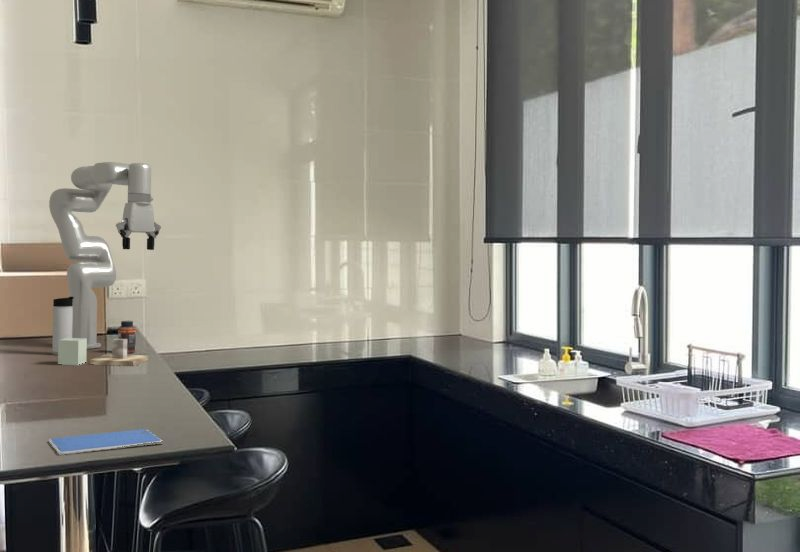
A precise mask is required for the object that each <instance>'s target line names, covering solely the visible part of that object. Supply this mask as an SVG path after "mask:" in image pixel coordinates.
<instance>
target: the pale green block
mask: <svg viewBox="0 0 800 552" xmlns="http://www.w3.org/2000/svg"><path fill="white" fill-rule="evenodd" d="M87 350H88V349H87V339H86V338H65V339H61V340H58V355H57V365H58V364H62V365H61V366H80V365H83V364H86V363H87V354H88V353H87V352H88V351H87ZM85 362H86V363H85ZM82 363H83V364H82ZM79 364H80V365H79Z"/></svg>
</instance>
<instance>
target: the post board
mask: <svg viewBox="0 0 800 552" xmlns="http://www.w3.org/2000/svg"><path fill="white" fill-rule="evenodd" d="M111 346H112V348H111V353H110V354H109V353H105V354H103V355H100V356H98V357H95V358H91V359H89V365H90V364H94V365H93V366H120V367H121V366H123V367H124V366H126V367H135V366H136V365H139V364H142V363H144V362H146V361H149V355H145V354H143V355H142V354H128V353H127V339H118V338H113V339H112V343H111Z"/></svg>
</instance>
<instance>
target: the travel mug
mask: <svg viewBox="0 0 800 552" xmlns="http://www.w3.org/2000/svg"><path fill="white" fill-rule="evenodd" d="M73 299H74V297H69V296H68V297H61V298H60V297H59V298H53V304H52V355H53V356H58V340H61V339H65V338H72V323H73V308H72V307H73V304H72V303H73Z"/></svg>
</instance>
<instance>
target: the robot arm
mask: <svg viewBox="0 0 800 552" xmlns="http://www.w3.org/2000/svg"><path fill="white" fill-rule="evenodd" d="M70 179H71V181H70V182H71V183H72V184H73V185H74V186H75V187H76V188H65V187H64V188H57V189H55V190H54V191H53V192H52V193H51V194H50V197H49V201H48V204H49V206H48V208H49V212H50V216H51V218H52V219H53V221H54V224H55V225H56V227H57V229H58V233H59V237H60V241H61V245H62V248H63V251H64V254H65V257H66V258H67V259H68V260H69V261H72V262H73V261H74V262H73V263H71V264H70V265H69V266H68V267H67V269H66V279H67V285H68V293H69V296H68V298H69V297H74V299H73V303H72V304H73V307H72V308H73V323H72V338H86V339H87V350H88V349H98V348H101V346H102V343H101V342H97V339H98V338H97V336H98V335H97V333H98V326H97V325H98V298H97V296H96V294H95V291H94V290H93V288H106V287H107V288H108V287H111V286H113V285H114V284H115V282H116V279H117V271H116V267H115V264H114V261H113V257H112V253H111V250H110V247H109V244H108V243H107V240H106V239H104V238H103V237H100V236H95V235H87V234H86V233H85V231H84V226H83V224H82V222H81V221H80V220H79V218H78V217H76V215H74V214H73V213H72V212H76V213H78V212H79V213H94V212H96V211H98V210H99V208H100V207H101V205H102V204H103V202H104V200H105V199H106V197H107V196H108V194H109V193H110V191H111V189H112V188H113V187H112V186H113V185H118V186H119V185H120V186H126V187H127V202H125V203H124V208H123V213H122V220H121V221H120V222H117V223H115V227H116V230H117V232H118V234H119V235H120V237H121V238H122V241H121V243H122V245H121V246H122V249H123V250H130V249H131V238H130V235H131V234H132V233H141V234H142V233H145V234H146V236H147V238H146V249H147V251H149V250H150V251H154V250H155V239H156V238H157V237H158V235H159V234H160V230H161V229H162V228H161V227H162V226H161V225H159V223H158V222H155V215H154V208H153V204H152V203H151V202H153V201H154V197H153V196H152V167H151V165H150V164H149V163H142V162H132V163H122V162H113V161H105V162H103V161H102V162H96V163H95V164H94V165H85V166H79V167H77V168H76V169H74V170H73V171H72V172H71V175H70Z"/></svg>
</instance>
